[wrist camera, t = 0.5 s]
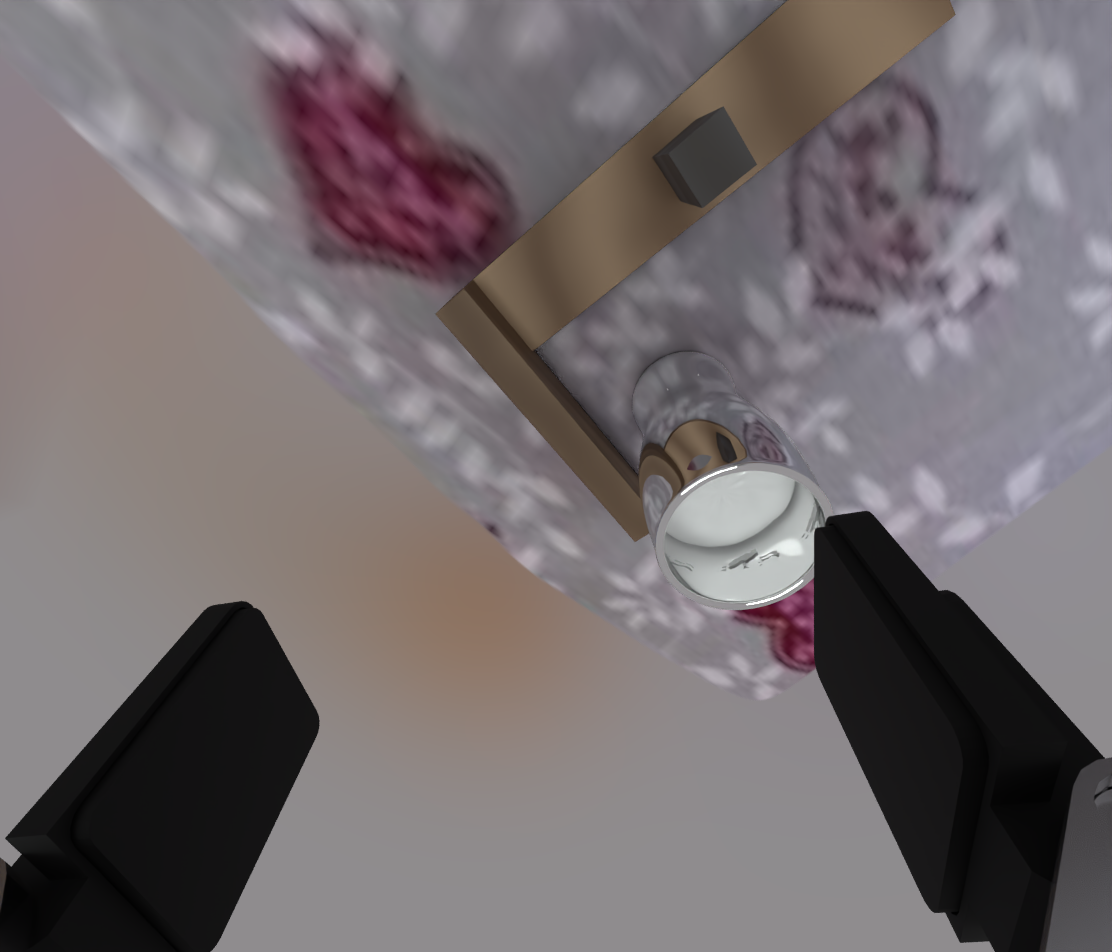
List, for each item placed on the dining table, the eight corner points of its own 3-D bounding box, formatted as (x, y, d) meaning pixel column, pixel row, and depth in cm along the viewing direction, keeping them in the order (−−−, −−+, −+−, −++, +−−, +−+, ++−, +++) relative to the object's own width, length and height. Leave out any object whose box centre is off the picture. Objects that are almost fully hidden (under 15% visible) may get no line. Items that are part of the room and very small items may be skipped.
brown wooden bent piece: (897, -98, 24) (1002, -188, 18) (1040, 252, 30) (1155, 272, 24) (449, 300, 32) (418, 329, 26) (630, 512, 38) (639, 575, 32)
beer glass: (765, 402, 34) (879, 547, 21) (673, 473, 37) (724, 642, 24) (692, 317, 32) (769, 418, 19) (600, 398, 35) (610, 537, 21)
